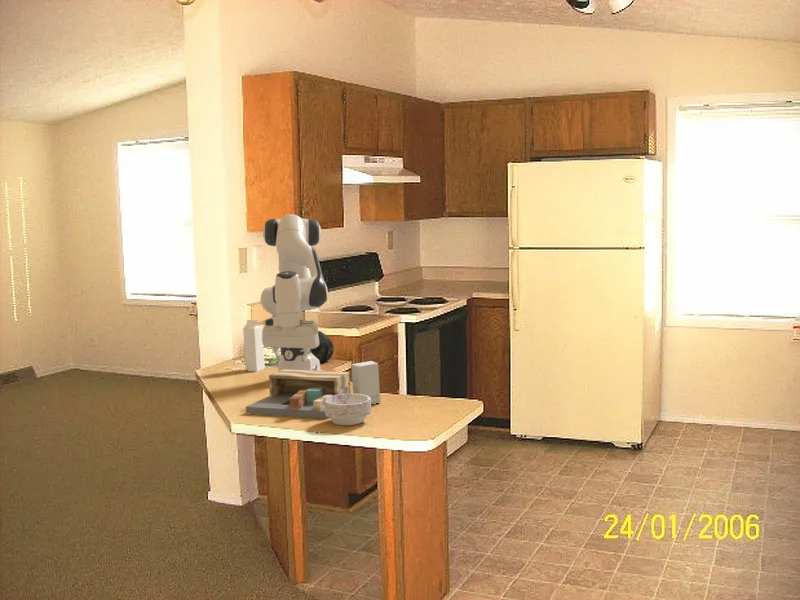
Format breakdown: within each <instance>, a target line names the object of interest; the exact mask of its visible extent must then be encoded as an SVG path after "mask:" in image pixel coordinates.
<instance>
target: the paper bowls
mask: <svg viewBox="0 0 800 600" xmlns="http://www.w3.org/2000/svg"><path fill="white" fill-rule="evenodd" d="M324 404H325V415H326V416H327V417H329V418H330V419H331V421H332V423H333V424H335V425H338V426H354V425H356V426H357V425H359V424H361V423H363V422H364V421H365V420H366V417H367V416H368V415H370V414H371V413H372V405H371V398H370V397H369V396H367V395H363V394H353V393H351V394H339V395H334V396H330V397H328V398H326V399H325V403H324ZM329 418H328V419H329Z"/></svg>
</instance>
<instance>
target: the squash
mask: <svg viewBox="0 0 800 600" xmlns="http://www.w3.org/2000/svg"><path fill="white" fill-rule="evenodd" d="M318 336H319V346H318V347H316V348H314V349H311V351H312V352H311V353H312V354H313V355H314V356H315V357H316V358H317V359H319V361H320V363H325V362H327V361H329V360H331V358H332V357H333V355H334V351H335V347H334V344H333V341H332V340H331V339H330V337H329V336H328V335H327V334H325V333H324V332H323V331H320V330H318Z"/></svg>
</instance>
